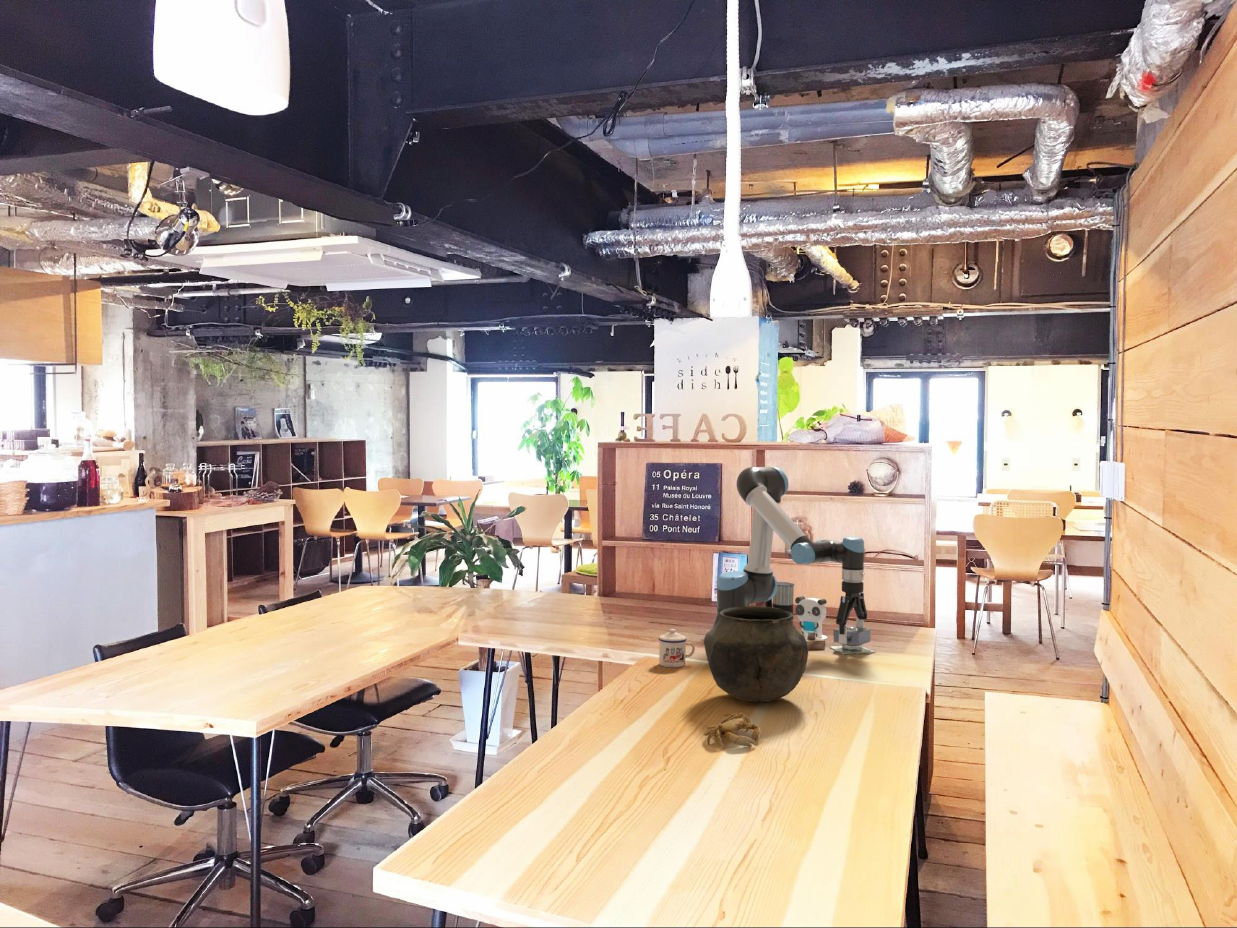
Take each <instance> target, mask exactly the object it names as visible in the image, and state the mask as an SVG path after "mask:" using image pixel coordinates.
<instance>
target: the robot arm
mask: <svg viewBox="0 0 1237 928" xmlns="http://www.w3.org/2000/svg"><path fill="white" fill-rule="evenodd" d="M735 485H736V490H737V492H738V494H739V496H740V498H741V500H742V501H743V502H745V504H746V505H748V506H751V507H752V508H753V510H752V511H753V513H752V519H751V520H752V521H751V530H750V531H751V533H750V540H749V541H750V542H749V551H748V560H747V564H746V565H744V566H743V571H741V570H733V571H725V572H723V573H720V574H719V576H717V581H716V615H715V618H714V621H713V623H712V626H711V629H712V628H713V627H714V626H715V625H716V624H717V623H718V621H719V615H720V612H721V611H722V610H724V609H728V608H734V607H746V606H748V605H752V604H761V603H762V604H763V603H765V601H768V600H770V599H772V600H773V597H774V596H775V594H776V591H777V586H778V585H777V582H778V580H777V578H776V576H775V575H774V570H773V568H772V567H771V558H772V557H771V556H772V547H773V538H774V532H775V534H776V535H777V536H778V537H779V538H780V539H781V540H782V541H783V543H784V544H785V545H786V546H787V547H788V548H789V549H790V556H791V559H792V561H793V562H794V563H795V564H797V565H810V564H811V565H812V564H819V563H828V562H832V563H839V564H840V563H841V592H842V593H845V595H844V596H843V595H841V596H840V601H839V606H838V611H837V615H836V620H835V624H836V625H838V628H839V643H838V644H841V645H842V644H847V626H848V625H847V622H848V619H849V616H850V614H851V611H852V610H854V612H855V615H856V617H857V618H856V619H855V621H856V622H855V627H860V628H865V620H868V613H867V612H868V611H867V607H866V606H867V605H866V603H865V597H864V596H865V593H864V585H865V583H864V582H863V581H864V576H865V572H864V571H865V570H864V567H865V566H864V565H865V564H864V563H865V562H864V561H865V552H866V551H865V541H864V539H863V538H861V537H856V536H854V537H853V536H846V537H843V538H842V541H836V540H829V539H818V540H816V541H812V540H811V538H809V537H808V536H807V534H805V532H804V531H803V530H801V528H800V527H799V526H798V525H797V524H796V523H795V521H793V519H792V518H791V517H790V516H789V515H788V514H787V513H786V511H785V510H784V509H783V508H782V507H781V506H780V504H781V501H782V500H781V499H782V497H783V496H784V495H785V494H786V493H788V490H789V478H788V477H787V475H786V473H785V471H784V470H782V469H781V468H779V467H775V466H749V467H746V468H744V469H743V470H742V471H741V472H739V474H738V476H737V479H736V483H735Z"/></svg>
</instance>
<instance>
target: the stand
mask: <svg viewBox="0 0 1237 928" xmlns="http://www.w3.org/2000/svg"><path fill="white" fill-rule="evenodd" d="M805 639H806V642H807V646H808V651H809V650H825V649H826V639H825V640H823V639H820V638H818V637H816V632H814V631H808V637H805Z"/></svg>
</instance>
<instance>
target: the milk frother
mask: <svg viewBox="0 0 1237 928" xmlns="http://www.w3.org/2000/svg"><path fill="white" fill-rule="evenodd" d="M777 585H778V586H777V591H776V594H775V596H774V597H773V598H772V599H770V600H768V601H765V602H764V604H765V606H764V607H772V608H778V609H782V610H785V611H788V612H790V613H792V614H793V615H794V596H795V595H794V590H795V589H794V588H795V583H793V582H787V581H786V582H785V581H777ZM792 620H794V619H793V618H792Z"/></svg>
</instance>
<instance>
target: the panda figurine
mask: <svg viewBox="0 0 1237 928" xmlns="http://www.w3.org/2000/svg"><path fill="white" fill-rule="evenodd" d="M794 602H795V604H797V605H796V607H795V614H796V616H797V618H798V620H799V626H800V628H801V634H802V635H804V637H808V631H814V632H816V637H818V638H820V639H823V640H825V641H826V640H827V639H828V636H826V635H824V634H823V621H824V620H825V619H826V616H827V608H826V605H827V602H828V601H827V599H826V598H822V599H820V598H816V597H809V598H805V596H803V595H802V596H797V597H796V598H795V599H794Z"/></svg>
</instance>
